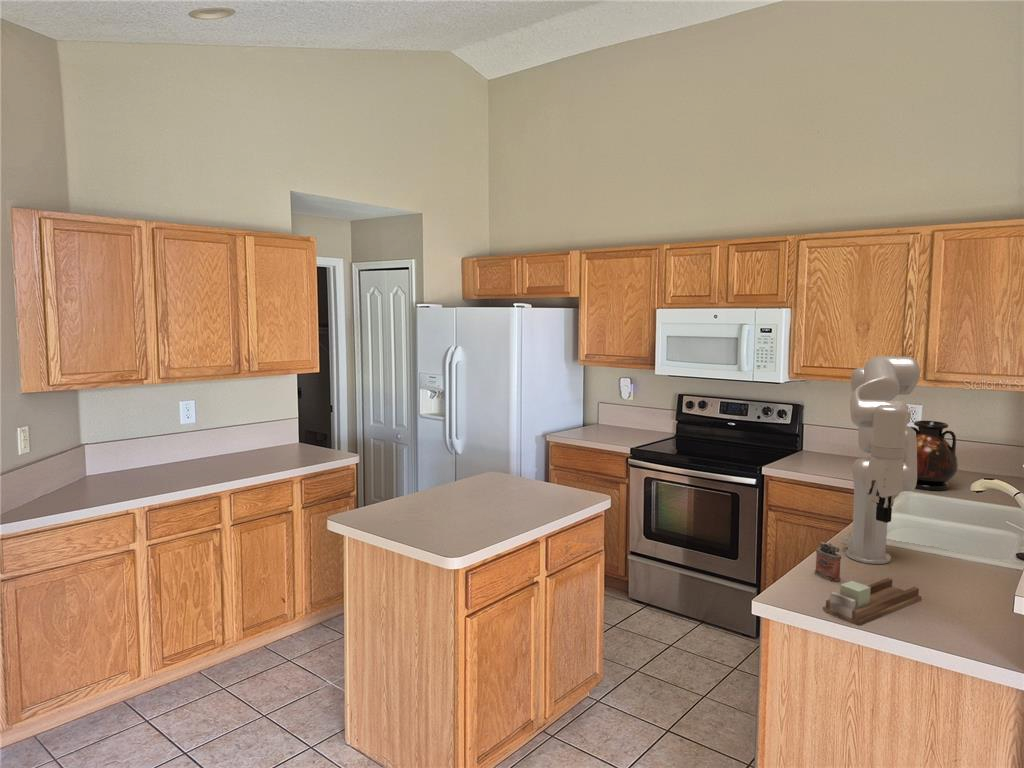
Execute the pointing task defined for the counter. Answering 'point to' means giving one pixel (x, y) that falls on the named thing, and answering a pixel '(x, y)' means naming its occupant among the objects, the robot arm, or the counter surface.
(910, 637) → the counter surface
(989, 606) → the counter surface
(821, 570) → the lighter
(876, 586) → the chute
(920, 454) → the amphora vase
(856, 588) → the block
